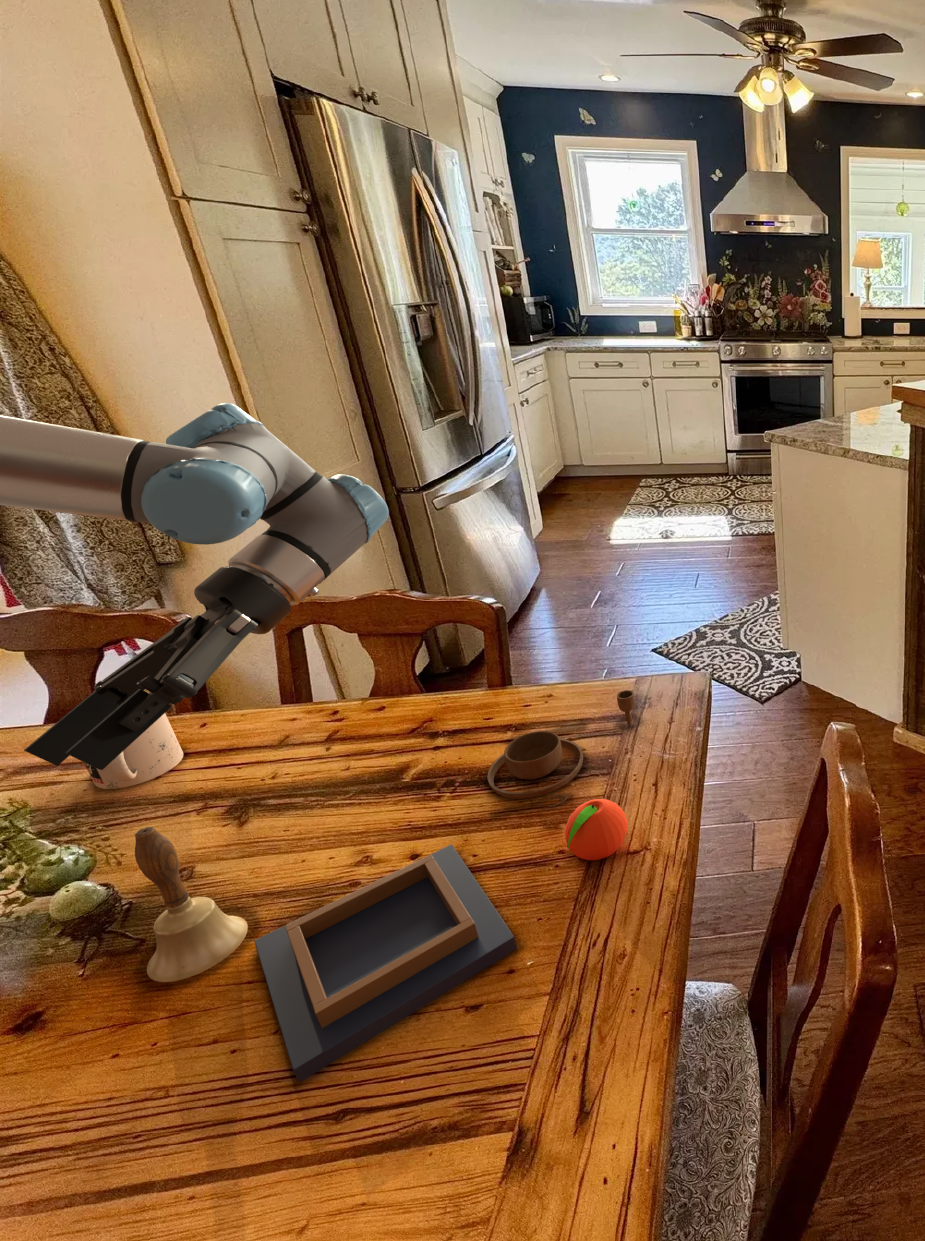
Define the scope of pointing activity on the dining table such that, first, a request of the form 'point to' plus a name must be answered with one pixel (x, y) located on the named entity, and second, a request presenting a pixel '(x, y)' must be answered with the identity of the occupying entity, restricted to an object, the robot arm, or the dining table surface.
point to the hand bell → (183, 916)
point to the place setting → (544, 756)
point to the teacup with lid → (141, 758)
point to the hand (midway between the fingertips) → (60, 760)
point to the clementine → (596, 829)
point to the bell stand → (378, 957)
